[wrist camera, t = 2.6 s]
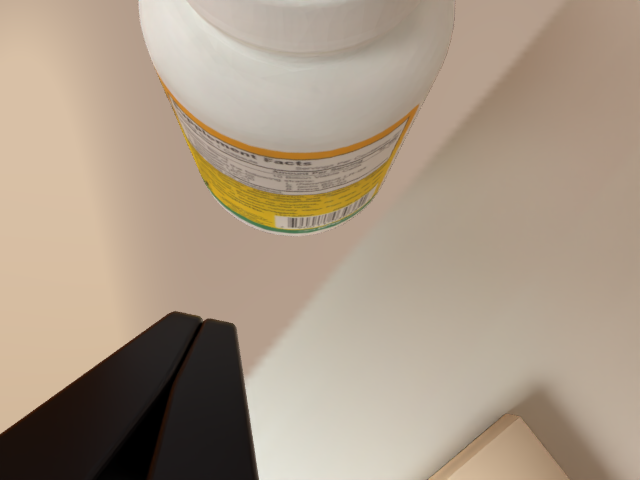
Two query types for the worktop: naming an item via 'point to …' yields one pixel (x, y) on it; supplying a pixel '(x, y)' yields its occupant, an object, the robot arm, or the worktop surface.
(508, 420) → the beige rectangular board
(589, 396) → the worktop surface
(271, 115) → the supplement bottle
